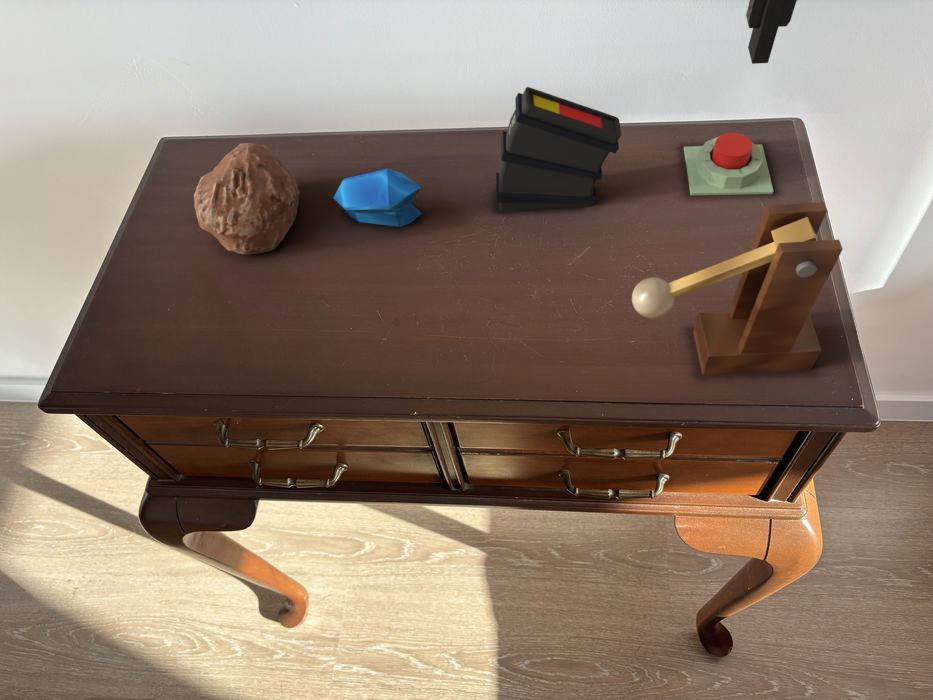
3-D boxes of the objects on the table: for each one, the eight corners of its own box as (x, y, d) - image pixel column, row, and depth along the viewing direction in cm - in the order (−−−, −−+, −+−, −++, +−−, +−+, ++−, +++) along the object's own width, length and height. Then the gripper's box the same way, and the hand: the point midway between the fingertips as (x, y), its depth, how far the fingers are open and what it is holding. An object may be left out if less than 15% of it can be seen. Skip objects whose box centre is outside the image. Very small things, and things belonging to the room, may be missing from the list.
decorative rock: (258, 181, 89) (229, 116, 81) (330, 204, 85) (307, 138, 77) (193, 252, 83) (154, 190, 75) (267, 280, 79) (234, 218, 71)
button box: (759, 152, 83) (766, 131, 81) (771, 199, 79) (778, 179, 76) (682, 154, 84) (686, 134, 82) (689, 200, 80) (693, 181, 77)
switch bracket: (701, 383, 66) (744, 259, 52) (690, 332, 70) (728, 202, 55) (809, 378, 66) (884, 251, 51) (793, 327, 69) (859, 194, 54)
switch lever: (645, 331, 61) (627, 311, 59) (639, 299, 63) (622, 278, 61) (827, 265, 54) (815, 239, 52) (814, 231, 56) (803, 205, 54)
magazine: (471, 186, 82) (522, 82, 71) (571, 216, 86) (635, 121, 74) (470, 209, 80) (523, 106, 68) (573, 238, 84) (640, 144, 72)
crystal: (328, 153, 80) (422, 139, 76) (361, 207, 87) (449, 197, 82) (308, 198, 76) (405, 186, 72) (343, 251, 83) (435, 243, 78)
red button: (745, 146, 80) (749, 131, 79) (751, 170, 78) (755, 155, 76) (710, 147, 81) (713, 133, 79) (714, 170, 79) (717, 156, 77)
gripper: (923, -273, 51) (819, 30, 70) (737, -255, 52) (686, 36, 72) (955, -235, 46) (835, 75, 66) (752, -217, 48) (694, 81, 68)
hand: (757, 54), depth 69 cm, fingers closed
